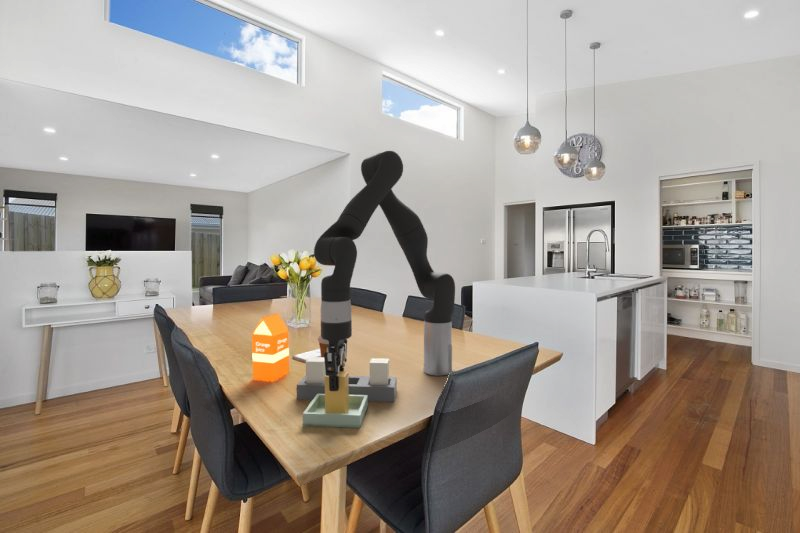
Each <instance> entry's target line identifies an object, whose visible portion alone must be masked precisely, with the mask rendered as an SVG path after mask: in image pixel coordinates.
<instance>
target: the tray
mask: <svg viewBox="0 0 800 533" xmlns="http://www.w3.org/2000/svg"><path fill="white" fill-rule="evenodd" d="M368 407H369V401H368V395H349V411H348V413H325V394H317V395H316V396H315V397H314V399H311V401H310V403H309V404H308V406H307V407H306V408H305V410H304V411H303V412H302V427H316V428H317V427H318V428H319V427H320V428H344V429H345V428H349V429H350V428H351V429H361V427H362V424H363V421H364V418H365V416H366V413H367V410H368Z"/></svg>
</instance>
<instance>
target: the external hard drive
mask: <svg viewBox="0 0 800 533" xmlns="http://www.w3.org/2000/svg"><path fill="white" fill-rule="evenodd" d="M310 357H321V352H320V348H316V349H313V350H310V351H306V352H302V353H298V354H293V355H292V359H293V360H297V361H300V362H303V363H306V361H307V360H308V359H309V358H310Z"/></svg>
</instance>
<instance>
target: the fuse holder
mask: <svg viewBox="0 0 800 533" xmlns="http://www.w3.org/2000/svg"><path fill="white" fill-rule="evenodd" d="M397 387H398V386H397V376H389V385H370V375H349V395H368V402H389V403H390V402H391V403H395V401H396V400H395V399H396V394H397ZM317 394H325V384H324V383H306V374H305V375H304V376H303V377H302V378H301V380H300V381H299V382H298V383H297V384H296V400H313V399H314V397H315V396H316V395H317Z"/></svg>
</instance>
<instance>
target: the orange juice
mask: <svg viewBox="0 0 800 533" xmlns="http://www.w3.org/2000/svg"><path fill="white" fill-rule="evenodd" d="M289 336H290V335H289V329H288V327H287V325H286V324H285V322H284V320H283V319H282V318H281V316H280V314H279V313H278V312H276V313H274V314H271V315H266V316H264V317H261V319H260V320H259V322H258V324H257V325H256V327H255V329H254V331H253V332H252V334H251V344H252V345H251V346H252V349H251V351H252V356H251V357H252V361H251V362H252V380H253V379H254V380H253V381H260V380H263V381H262V382H269V381H271V382H270V383H275V382H277V381H278V380H279V378H280V379H281V378H284V375H285V376H286V375H288V374H289V373H290V346H289V345H290V344H289V343H290V342H289V341H290V338H289ZM274 381H275V382H274Z"/></svg>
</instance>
